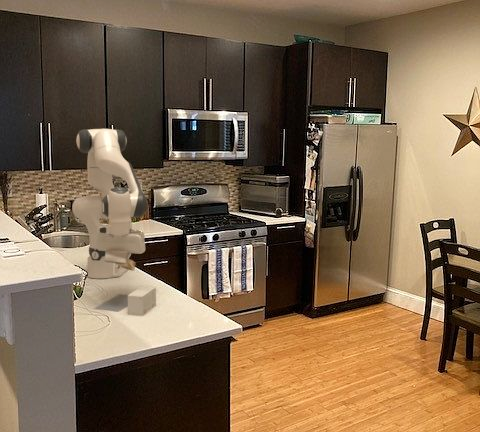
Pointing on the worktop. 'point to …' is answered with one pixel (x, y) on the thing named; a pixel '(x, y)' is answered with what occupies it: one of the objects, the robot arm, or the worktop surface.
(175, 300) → the worktop surface
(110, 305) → the mat
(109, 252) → the wooden t-shaped stand
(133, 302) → the small box
